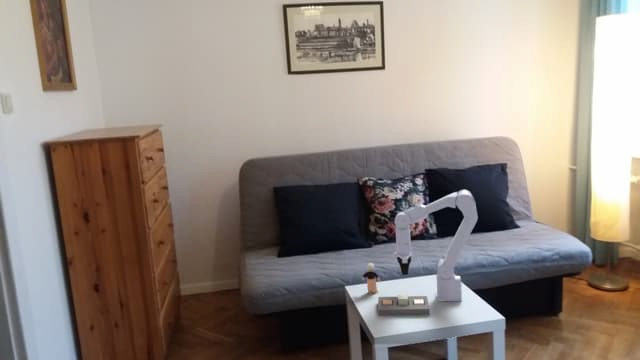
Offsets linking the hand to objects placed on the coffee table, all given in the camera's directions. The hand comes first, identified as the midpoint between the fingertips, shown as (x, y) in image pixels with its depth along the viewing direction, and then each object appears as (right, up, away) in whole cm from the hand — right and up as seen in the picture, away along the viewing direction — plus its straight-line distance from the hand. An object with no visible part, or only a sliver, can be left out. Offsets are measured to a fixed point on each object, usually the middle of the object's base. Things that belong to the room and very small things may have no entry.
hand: (404, 274), depth 205 cm
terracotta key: (-8, -12, -9) cm, 17 cm away
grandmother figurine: (-13, -9, +8) cm, 18 cm away
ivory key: (+4, -11, -11) cm, 16 cm away
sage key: (-2, -9, -10) cm, 14 cm away
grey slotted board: (-2, -11, -10) cm, 15 cm away
